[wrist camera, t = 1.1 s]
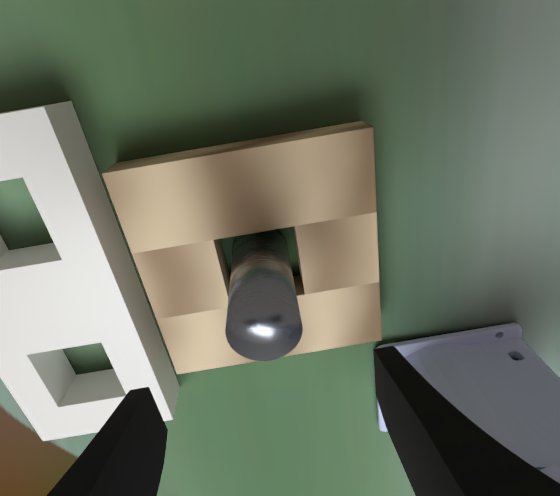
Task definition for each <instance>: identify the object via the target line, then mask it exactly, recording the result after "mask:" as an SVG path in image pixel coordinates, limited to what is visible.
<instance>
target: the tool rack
mask: <svg viewBox="0 0 560 496" xmlns="http://www.w3.org/2000/svg"><path fill="white" fill-rule="evenodd" d="M21 177H23V179H24V181H25V183H26V185H27V187H28V189H29V191H30V194H31V196H32V198H33V200H34V202H35V204H36V206H37V208H38V210H39V212H40V215H41V217H42V219H43V221H44V223H45V225H46V227H47V229H48V231H49V233H50V236H51V238H52V240H53V242H54V243H49V244H43V245H37V246H31V247H25V248H19V249H13V250H8V248H7V246H6V244H5V242H4V240H3V238H2V237H1V235H0V378H1V379H2V381H3V382H4V384H5V385H6V387H7V388H8V390H9V391H10V393H11V394H12V396H13V397H14V399H15V400H16V402H17V403H18V405H19V406H20V408H21V409H22V411H23V412H24V414H25V415H26V417H27V418H28V420H29V421H30V423H31V424H32V426H33V427H34V429H35V430H36V432H37V433H38V435H39V436H40V438H41V439H42V440H43V441H47V440H53V439H59V438H65V437H71V436H77V435H83V434H89V433H95V432H99V431H100V429H101V428H102V427H103V425H104V424H105V423H106V421H107V420H108V419H109V417H110V416H111V415H112V413H113V412H114V410H115V409H116V408H117V406H118V405H119V404H120V402H121V401H122V400H123V399H124V397H125V396H126V395H127V393H128V392H129V391H130V390H133V389H139V388H145V387H149V388H150V391H151V393H152V395H153V398H154V400H155V402H156V404H157V407H158V409H159V411H160V414H161V416H162V418H163V421H168V420H173V418H174V413H175V409H176V404H177V399H178V395H179V390H180V386H179V383H178V381H177V378H176V375H175V373H174V370H173V367H172V365H171V362H170V360H169V357H168V354H167V352H166V349H165V346H164V344H163V341H162V338H161V336H160V333H159V331H158V328H157V325H156V323H155V320H154V317H153V315H152V312H151V309H150V307H149V304H148V302H147V299H146V296H145V294H144V291H143V288H142V286H141V283H140V281H139V278H138V275H137V273H136V270H135V267H134V265H133V262H132V259H131V257H130V254H129V252H128V249H127V246H126V244H125V241H124V238H123V236H122V233H121V230H120V228H119V225H118V223H117V220H116V217H115V215H114V212H113V209H112V207H111V204H110V201H109V199H108V196H107V194H106V191H105V188H104V186H103V183H102V180H101V178H100V175H99V172H98V170H97V167H96V165H95V162H94V159H93V157H92V154H91V151H90V149H89V146H88V143H87V141H86V138H85V136H84V133H83V130H82V128H81V125H80V122H79V120H78V117H77V114H76V112H75V109H74V107H73V104H72V101H66V102H61V103H55V104H49V105H43V106H37V107H32V108H26V109H20V110H14V111H8V112H3V113H0V181H4V180H10V179H15V178H21ZM100 342H101V343H102V345H103V347H104V349H105V351H106V353H107V356H108V358H109V360H110V362H111V364H112V366H113V368H114V369H108V370H102V371H96V372H91V373H85V374H79V375H76V373H75V372H74V370H73V368H72V366H71V364H70V362H69V360H68V359H67V357H66V355H65V353H64V351H63V349H64V348H70V347H76V346H82V345H88V344H94V343H100Z"/></svg>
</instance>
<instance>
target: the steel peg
mask: <svg viewBox="0 0 560 496" xmlns="http://www.w3.org/2000/svg"><path fill="white" fill-rule="evenodd" d="M302 331H303V327H302V321H301V316H300V311H299V305H298V300H297V295H296V290H295V285H294V280H293V275H292V270H291V264H290V259H289V254H288V249H287V244H286V241H285V239H284V237H283V236H282V235H281V234H280V233H279V232H278V231H277V230H269V231H263V232H257V233H251V234H245V235H240V236H238V237H237V238H236V240H235V242H234V246H233V255H232V266H231V276H230V287H229V297H228V308H227V318H226V328H225V334H226V339H227V341H228V343H229V345H230V346H231V348H232V349H233V350H234V351H235V352H236V353H238V354H239V355H241V356H243V357H245V358H248V359H251V360H256V361H269V360H274V359H278V358H280V357H283V356H285V355H286V354H288V353H289V352H291V351H292V350H293V349H294V348H295V347H296V346H297V345H298V343H299V341H300V339H301V336H302Z"/></svg>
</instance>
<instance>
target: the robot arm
mask: <svg viewBox="0 0 560 496" xmlns="http://www.w3.org/2000/svg"><path fill="white" fill-rule="evenodd" d="M498 332H499V333H498ZM497 333H498V334H497ZM521 335H522V328H521V327H520V326H519V325H518V324H517V323H510V324H504V325H498V326H492V327H486V328H480V329H474V330H468V331H462V332H456V333H450V334H444V335H438V336H432V337H426V338H420V339H414V340H408V341H402V342H396V343H390V344H384V345H380V346H378V347H376V349H374V366H375V384H376V396H377V411H378V425H379V428H380V430H381V431H384V432H387V431H388V433H389V435H390V437H391V440H392V442H393V444H394V447H395V449H396V451H397V453H398V456H399V458H400V460H401V463H402V465H403V467H404V470H405V472H406V474H407V476H408V479H409V481H410V483H411V486H412V488H413V490H414V493H415V495H416V496H560V378H559V377H558V376H557V375H556V374H555V373H554V372H553V371H552V369H551V368H550V367H549V366H548V365H547V364H546V363H545V362H544V361H543V360H542V359H541V358H540V357H539V356H538V355H537V354H536V353H535V352H534V351H533V350H532V349H531V348H530V347H529V346H528V345H527V344H526V343H525V342H524V341H523V340H522V339H521ZM167 431H168V430H167V428H166V425H165V423H164V421H163V418H162V416H161V414H160V411H159V409H158V407H157V404H156V402H155V400H154V398H153V395H152V393H151V391H150V388H149V387H145V388H139V389H133V390H130V391H129V392H128V393H127V395H126V396H125V397H124V399H123V400H122V401H121V402H120V404H119V405H118V406H117V408H116V409H115V410H114V412H113V413H112V415H111V416H110V417H109V419H108V420H107V421H106V423H105V424H104V425H103V427H102V428H101V429H100V431H99V432H98V433H97V434H96V436H95V437H94V438H93V440H92V441H91V442H90V444H89V445H88V446H87V447H86V449H85V450H84V451H83V453H82V454H81V455H80V456H79V458H78V459H77V460H76V462H75V463H74V464H73V465H72V466H71V467H70V469H69V470H68V471H67V472H66V473H65V475H64V476H63V477H62V478H61V480H60V481H59V482H58V483H57V484H56V485H55V487H54V488H53V489H52V490H51V491H50V492H49V494H48V495H47V496H156V495H157V491H158V487H159V483H160V478H161V474H162V469H163V465H164V458H165V450H166V440H167Z"/></svg>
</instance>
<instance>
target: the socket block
mask: <svg viewBox="0 0 560 496" xmlns="http://www.w3.org/2000/svg"><path fill="white" fill-rule="evenodd" d="M102 176H103V178H104V181H105V184H106V186H107V189H108V192H109V194H110V197H111V200H112V202H113V205H114V208H115V210H116V213H117V216H118V218H119V221H120V224H121V226H122V229H123V232H124V234H125V237H126V240H127V242H128V245H129V247H130V250H131V253H132V255H133V258H134V261H135V263H136V266H137V269H138V271H139V274H140V277H141V279H142V282H143V285H144V287H145V290H146V293H147V295H148V298H149V301H150V303H151V306H152V309H153V311H154V314H155V317H156V319H157V322H158V325H159V327H160V330H161V333H162V335H163V338H164V341H165V343H166V346H167V349H168V351H169V354H170V357H171V359H172V362H173V365H174V367H175V370H176V373H177V374H183V373H189V372H195V371H201V370H206V369H212V368H218V367H224V366H230V365H236V364H242V363H248V362H254V361H256V360H251V359H248V358H245V357H243V356H241V355H239V354H238V353H236V352H235V351H234V350H233V349H232V348H231V346H230V345H229V343H228V341H227V339H226V334H225V328H226V318H227V308H228V297H229V287H230V276H229V272H228V268H227V264H226V260H225V256H224V252H223V248H222V244H221V240H220V239H222V238H228V237H234V236H240V235H245V234H251V233H257V232H263V231H269V230H275V229H281V228H287V227H293V229H294V236H295V242H296V249H297V256H298V262H299V269H300V276H294V277H293V280H294V285H295V290H296V295H297V300H298V305H299V311H300V316H301V321H302V327H303V331H302V336H301V339H300V341H299V343H298V345H297V346H296V347H295V348H294V349H293V350H292V351H291V352H289V353H288V354H286V355H285V356H290V355H296V354H302V353H308V352H314V351H320V350H326V349H332V348H338V347H344V346H350V345H356V344H362V343H368V342H374V341H380V340H382V336H381V311H380V286H379V260H378V235H377V210H376V185H375V160H374V134H373V127H372V126H370V125H368V124H366V123H364V122H362V121H357V122H351V123H345V124H340V125H334V126H328V127H322V128H316V129H310V130H304V131H299V132H293V133H287V134H281V135H275V136H269V137H264V138H258V139H252V140H246V141H240V142H234V143H228V144H223V145H217V146H211V147H205V148H199V149H193V150H188V151H182V152H176V153H170V154H164V155H158V156H152V157H147V158H141V159H135V160H129V161H123V162H117V163H115V164H114V165H113V166H111V167H110V168H109V169H107V170H106V171H105V172H103V173H102ZM283 357H284V356H283Z"/></svg>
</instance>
